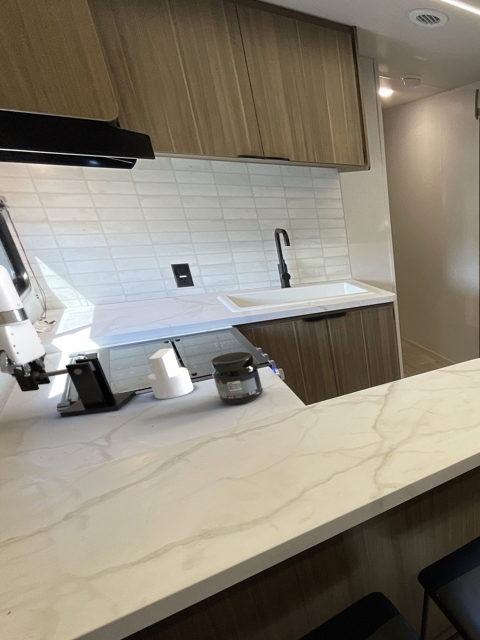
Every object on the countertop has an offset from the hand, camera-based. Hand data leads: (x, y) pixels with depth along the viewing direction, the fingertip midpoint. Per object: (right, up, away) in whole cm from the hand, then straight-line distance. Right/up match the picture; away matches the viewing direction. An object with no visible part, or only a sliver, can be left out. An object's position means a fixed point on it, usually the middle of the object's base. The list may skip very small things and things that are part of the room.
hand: (36, 386), depth 103 cm
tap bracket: (+11, -5, +6) cm, 13 cm away
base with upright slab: (+24, -2, +14) cm, 28 cm away
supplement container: (+47, -4, +10) cm, 48 cm away
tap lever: (+5, +2, +1) cm, 6 cm away
